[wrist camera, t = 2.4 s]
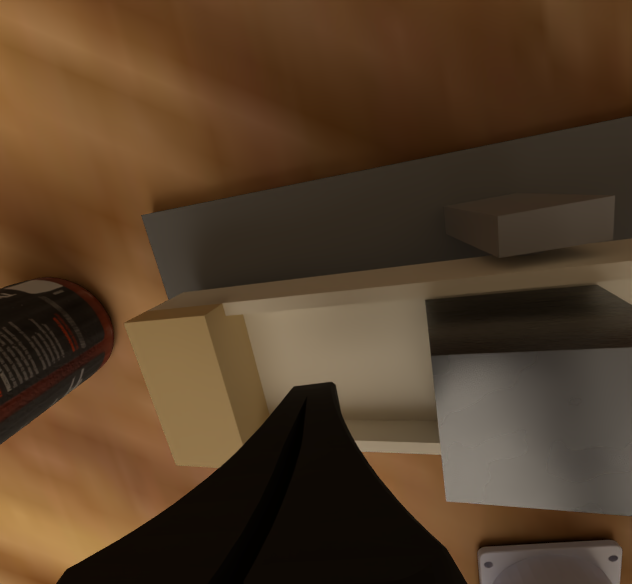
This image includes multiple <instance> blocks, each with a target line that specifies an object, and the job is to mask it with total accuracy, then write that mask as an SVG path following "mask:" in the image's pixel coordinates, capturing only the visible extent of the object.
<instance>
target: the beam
mask: <svg viewBox="0 0 632 584" xmlns="http://www.w3.org/2000/svg"><path fill="white" fill-rule="evenodd" d="M586 285H599V286H601V287H602V288H604V289H606V290H607V291H609V292H611V293H612V294H614V295H616V296H618V297H619V298H621V299H623V300H624V301H626V302H628V303H629V304H631V305H632V239H623V240H615V241H607V242H598V243H590V244H583V245H577V246H571V247H564V248H558V249H552V250H546V251H540V252H533V253H527V254H521V255H515V256H509V257H502V258H498V257H496V256H494V255H490V256H482V257H474V258H465V259H457V260H449V261H440V262H432V263H424V264H415V265H407V266H399V267H390V268H382V269H374V270H365V271H357V272H349V273H340V274H332V275H324V276H315V277H307V278H299V279H291V280H282V281H274V282H266V283H257V284H249V285H241V286H232V287H224V288H216V289H207V290H199V291H191V292H183V293H181V294H179V295H177V296H175V297H173V298H171V299H170V300H168V301H166V302H164V303H162V304H160V305H158V306H156V307H154V308H152V309H150V310H148V311H146V312H144V313H142V314H140V315H138V316H136V317H135V318H133V319H131V320H129V321H127V322H125V323H124V326H125V328H126V331H127V334H128V337H129V339H130V342H131V345H132V347H133V350H134V353H135V355H136V358H137V361H138V364H139V366H140V369H141V372H142V374H143V377H144V380H145V383H146V385H147V388H148V391H149V393H150V396H151V399H152V401H153V404H154V407H155V410H156V412H157V415H158V418H159V420H160V423H161V426H162V428H163V431H164V434H165V437H166V439H167V442H168V445H169V447H170V450H171V453H172V455H173V458H174V461H175V464H176V465H181V466H197V467H212V468H220V467H221V466H222V465H223V464H224V463H225V462H226V461H227V460H228V459H230V458H231V457H232V456H233V455H234V454H235V453H236V452H237V451H238V450H239V449H240V448H241V447H242V446H243V445H244V444H245V443H246V441H247V440H248V439H249V438H250V437H251V436H252V435H253V434H254V433H255V432H256V431H257V430H258V429H259V428H260V426H261V425H262V424H263V423H264V422H265V421H266V419H267V418H268V417H269V416H270V415H271V413H272V412H273V411H274V410H275V409H276V407H277V406H278V405H279V404H280V402H281V401H282V400H283V399H284V397H285V396H286V395H287V394H288V392H289V391H290V390H291V389H292V388H293V387H294V386H301V385H309V384H317V383H325V382H333V383H334V384H336V388H337V393H338V398H339V404H340V409H341V414H342V416H343V418H344V421H345V423H346V425H347V427H348V429H349V431H350V433H351V435H352V437H353V439H354V441H355V442H356V444H357V446H358V447H359V449H360V451H363V452H388V453H412V454H437V455H441V447H440V438H439V428H438V419H437V410H436V400H435V391H434V381H433V372H432V362H431V353H430V343H429V334H428V324H427V315H426V305H425V300H429V299H440V298H452V297H463V296H474V295H485V294H496V293H507V292H519V291H530V290H541V289H552V288H563V287H575V286H586Z"/></svg>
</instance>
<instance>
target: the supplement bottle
mask: <svg viewBox="0 0 632 584" xmlns="http://www.w3.org/2000/svg"><path fill="white" fill-rule="evenodd" d="M113 342H114V333H113V327H112V323H111V320H110V318H109V316H108V314H107V312H106V311H105V309H104V308H103V306H102V305H101V303H100V302H99V301H98V300H97V299H96V298H95V297H94V296H93V295H92V294H91V293H90V292H88V291H87V290H85V289H84V288H82V287H81V286H79V285H77V284H75V283H72V282H70V281H67V280H64V279H59V278H50V277H45V278H37V279H33V280H27V281H24V282H21V283H17V284H13V285H9V286H6V287H4V288H1V289H0V444H2V443H3V442H4V441H6V440H7V439H8V438H9V437H11V436H12V435H14V434H15V433H16V432H18V431H19V430H20V429H22V428H23V427H25V426H26V425H27V424H29V423H30V422H31V421H32V420H34V419H35V418H36V417H38V416H39V415H40V414H42V413H43V412H44V411H46V410H47V409H48V408H49V407H51V406H52V405H54V404H55V403H56V402H58V401H59V400H60V399H61V398H63V397H64V396H65V395H67V394H68V393H69V392H71V391H72V390H73V389H75V388H76V387H77V386H79V385H80V384H81V383H83V382H84V381H85V380H87V379H88V378H89V377H91V376H92V375H93V374H94V373H95V372H96V371H97V370H99V369H100V368H101V367H102V366H103V365H104V364H105V363H106V362H107V360H108V358H109V357H110V354H111V352H112V348H113Z"/></svg>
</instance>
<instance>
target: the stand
mask: <svg viewBox="0 0 632 584" xmlns="http://www.w3.org/2000/svg"><path fill="white" fill-rule="evenodd" d="M141 216H142V219H143V222H144V225H145V228H146V232H147V235H148V238H149V241H150V244H151V247H152V250H153V253H154V256H155V259H156V262H157V265H158V269H159V272H160V275H161V278H162V281H163V284H164V287H165V290H166V293H167V296H168V299H169V300H170V299H171V298H173V297H175V296H177V295H179V294H181V293H183V292H191V291H199V290H207V289H216V288H224V287H232V286H241V285H249V284H257V283H266V282H274V281H282V280H291V279H299V278H307V277H315V276H324V275H332V274H340V273H349V272H357V271H365V270H374V269H382V268H390V267H399V266H407V265H415V264H424V263H432V262H440V261H449V260H457V259H465V258H474V257H482V256H490V255H494V256H496V257H498V258H502V257H509V256H515V255H521V254H527V253H533V252H540V251H546V250H552V249H558V248H564V247H571V246H577V245H583V244H590V243H598V242H607V241H615V240H623V239H632V116H629V117H624V118H620V119H615V120H610V121H605V122H600V123H595V124H590V125H585V126H580V127H575V128H570V129H565V130H560V131H555V132H550V133H545V134H540V135H536V136H531V137H526V138H521V139H516V140H511V141H506V142H501V143H496V144H491V145H486V146H481V147H476V148H471V149H466V150H461V151H456V152H452V153H447V154H442V155H437V156H432V157H427V158H422V159H417V160H412V161H407V162H402V163H397V164H392V165H387V166H382V167H377V168H372V169H368V170H363V171H358V172H353V173H348V174H343V175H338V176H333V177H328V178H323V179H318V180H313V181H308V182H303V183H298V184H293V185H288V186H283V187H279V188H274V189H269V190H264V191H259V192H254V193H249V194H244V195H239V196H234V197H229V198H224V199H219V200H214V201H209V202H204V203H199V204H195V205H190V206H185V207H180V208H175V209H170V210H165V211H160V212H155V213H150V214H145V215H141Z"/></svg>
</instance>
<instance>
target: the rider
mask: <svg viewBox="0 0 632 584" xmlns="http://www.w3.org/2000/svg"><path fill="white" fill-rule="evenodd" d="M425 305H426V315H427V324H428V334H429V343H430V353H431V362H432V372H433V381H434V391H435V400H436V410H437V419H438V428H439V438H440V447H441V457H442V466H443V475H444V485H445V494H446V501H449V502H461V503H474V504H486V505H499V506H511V507H524V508H536V509H549V510H561V511H574V512H586V513H599V514H611V515H624V516H632V305H631V304H629V303H628V302H626V301H624V300H623V299H621V298H619V297H618V296H616V295H614V294H612V293H611V292H609V291H607V290H606V289H604V288H602V287H601V286H599V285H586V286H575V287H563V288H552V289H541V290H530V291H519V292H507V293H496V294H485V295H474V296H463V297H452V298H440V299H429V300H425Z"/></svg>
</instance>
